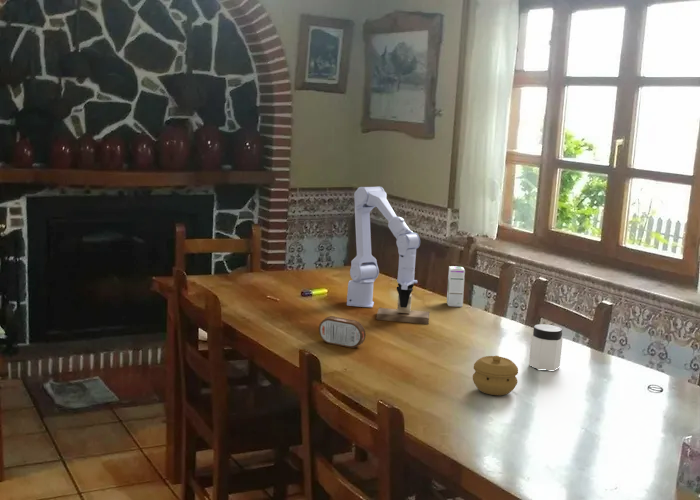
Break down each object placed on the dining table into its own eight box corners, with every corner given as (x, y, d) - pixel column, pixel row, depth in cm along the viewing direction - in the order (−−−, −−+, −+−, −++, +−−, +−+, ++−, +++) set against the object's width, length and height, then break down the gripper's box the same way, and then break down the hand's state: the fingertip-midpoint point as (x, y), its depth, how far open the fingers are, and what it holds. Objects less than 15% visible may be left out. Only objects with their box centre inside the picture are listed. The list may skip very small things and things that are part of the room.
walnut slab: (376, 319, 281) (376, 313, 280) (378, 313, 290) (379, 307, 289) (428, 324, 279) (428, 318, 278) (429, 317, 288) (429, 311, 287)
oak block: (397, 312, 282) (398, 295, 281) (397, 309, 286) (399, 292, 285) (410, 313, 281) (411, 296, 280) (410, 310, 286) (411, 293, 285)
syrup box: (462, 307, 306) (465, 269, 303) (447, 306, 306) (450, 268, 303) (461, 303, 311) (464, 266, 309) (445, 302, 311) (448, 265, 309)
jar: (565, 370, 236) (569, 330, 234) (542, 373, 233) (547, 333, 230) (545, 361, 244) (549, 322, 242) (523, 363, 240) (527, 324, 238)
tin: (365, 348, 247) (366, 321, 246) (361, 350, 244) (362, 323, 243) (321, 339, 253) (322, 313, 252) (316, 342, 251) (318, 315, 249)
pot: (469, 383, 220) (472, 347, 219) (512, 385, 220) (515, 350, 218) (474, 398, 209) (477, 361, 207) (519, 401, 209) (523, 364, 207)
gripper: (417, 272, 273) (414, 311, 276) (418, 264, 288) (416, 301, 290) (396, 270, 274) (393, 309, 277) (399, 262, 288) (396, 299, 291)
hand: (404, 305), depth 283 cm, fingers closed on oak block, 4 cm apart
